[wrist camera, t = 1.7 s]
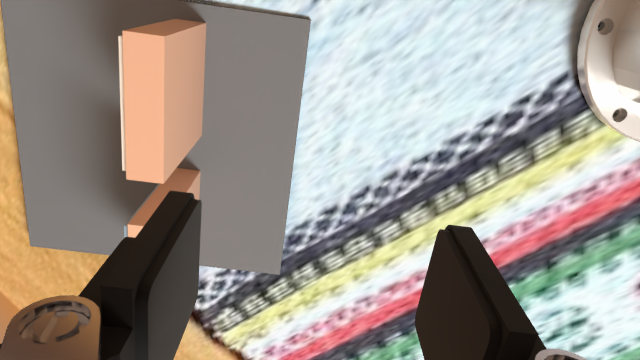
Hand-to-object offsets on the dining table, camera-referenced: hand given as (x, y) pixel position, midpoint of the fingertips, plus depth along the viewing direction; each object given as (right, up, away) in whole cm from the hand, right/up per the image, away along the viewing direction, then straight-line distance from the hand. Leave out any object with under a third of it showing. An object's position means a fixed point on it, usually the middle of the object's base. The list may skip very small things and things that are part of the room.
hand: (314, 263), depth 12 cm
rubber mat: (-10, +5, +19) cm, 22 cm away
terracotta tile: (-8, +8, +17) cm, 21 cm away
